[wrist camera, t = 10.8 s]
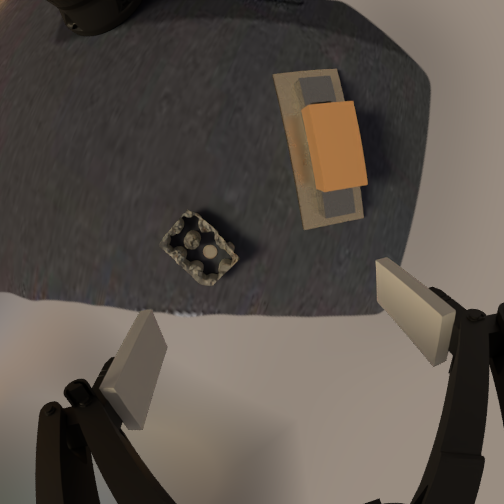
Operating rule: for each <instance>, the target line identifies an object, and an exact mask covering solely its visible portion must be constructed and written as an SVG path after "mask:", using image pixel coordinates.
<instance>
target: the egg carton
mask: <svg viewBox="0 0 504 504" xmlns="http://www.w3.org/2000/svg"><path fill="white" fill-rule="evenodd" d="M194 215H195V216H197V217H198V218H199V222H198V226H199V228H200V230H201V232H210V231H214V233H215V241H216V244H217V245H218V246H219V248H221V249H225V250H226V251H227V253H228V254H229V255H230V256H231V257H232V260H230V259H223V260H221V262H220V264H219V269H218V270H219V274H213V273H211V274H209V275H205V274H204V273H203V270H204V265H203V263H202V262H201V261H198V260H194V261H192V262H190V261H188V260H187V259H186V257H187V250H186V249H185V248H184V247H182V246H177V247H175V248H173V247H172V246H171V245H170V242H171V238H170V235H171V236H173V235H175V234H179V233H180V232H181V230H182V229H183V227H184V220H183V219H182V217H183V216H186V217H188V218H190V217H192V216H194ZM200 240H201V236H200V234H199V232H197V231H195V230H192V231H190V232H188V233H187V235H186V236H185V238H184V244H185V247H186V248H187V249H196V248H197V247H198V246H199V243H200ZM159 246H160V247H161V248H162V249H163V250H164V251H165V252H166V253H168V254H169V255H170V256H171V257H172V258H173V259H175V261H176V262H177V264H179V265H180V266H181V267H182V268H184V269H185V270H186V271H187V272H188V273H189V274H190V275H191V276H192V277H193V278H194V279H195V280H196V281H197V282H199V283H200V284H202V285H208V286H212V285H214V284H215V283H216V282H217V281H218V280H219V279H220V278H221V277H222V276H223V275H224V274H225V273H226V272H227V271H228V270H229V269H230V268H231V267H232V266H233V265H234V264H235V263H236V262H237V261H238V260H239V259H240V258H239V257H238V256H237V255H236V254H235V253H234V249H235V247H234V245H233V244H232V243H231V242H228V243H226V241H225V240H224V239H223V238H222V237H221V236H220V235H219V234H218V231H217V230H216V229H214V228H213V227H212V226H211V225H210V224H209V223H207V222H206V221H205V220H203V219H202V218H201V216H200V215H199V214H198V213H194V212H190V211H189V210H187V211H186V212H185V213H184V214H183V215H182V216H181V217H180V219H179V220H178V221H177V222H176V223H175V224H174V226H173V227H172V228H171V229H170V230H169V232H168V233H167V234H166V235H165V236H164V238H163V239H162V240H161V242H160V244H159ZM217 252H218V251H217V248H216V247H215V246H213V245H207V246H205V247H204V249H203V254H204V256H205V257H206V258H208V259H212V258H215V257H216V255H217Z"/></svg>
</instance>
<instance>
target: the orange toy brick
mask: <svg viewBox="0 0 504 504" xmlns="http://www.w3.org/2000/svg"><path fill="white" fill-rule="evenodd" d="M301 112H302V117H303V121H304V126H305V131H306V136H307V141H308V146H309V151H310V156H311V162H312V167H313V173H314V178H315V184H316V189H318V190H321V191H323V192H329V191H334V190H340V189H346V188H352V187H358V186H364V185H368V181H367V174H366V167H365V161H364V154H363V148H362V143H361V137H360V132H359V126H358V121H357V117H356V112H355V107H354V103H353V101H344V102H331V103H321V104H311V105H307V106H306V107H305V108H303V109H302V110H301Z"/></svg>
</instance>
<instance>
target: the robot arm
mask: <svg viewBox="0 0 504 504" xmlns="http://www.w3.org/2000/svg"><path fill="white" fill-rule="evenodd" d="M47 1H48V2H50V3H51V4H53V5H54V6H56V7H57V8H59V11H60V13H61V15H62V18H63V20H64V23H65V25H66V26H67V27H68V28H69V29H70V30H71V31H73V32H74V33H76V34H78V35H81V36H94V35H99V34H102V33H104V32H107V31H109V30H111V29H113V28H115V27H116V26H118V25H119V24H121V23H122V22H123V21H125V20H126V19H127V18H128V17H129V16H130V15H131V14H132V13H133V12H134V11H135V10H136V9H137V7H138V6H139V4H140V3H141V1H142V0H47ZM376 278H377V302H378V303H379V304H380V305H381V306H382V308H383V309H384V310H385V311H386V312H387V313H388V314H389V315H390V316H391V318H392V319H393V320H394V321H395V322H396V323H397V324H398V326H399V327H400V328H401V329H402V330H403V331H404V333H405V334H406V335H407V336H408V337H409V338H410V340H411V341H412V342H413V343H414V344H415V345H416V346H417V348H418V349H419V350H420V351H421V353H422V354H423V355H424V356H425V357H426V359H427V360H428V361H429V362H430V364H431V365H432V366H433V367H434V366H436V365H439V364H441V363H443V362H445V361H446V359H447V355H448V351H450V353H451V354H452V355H453V358H452V362H451V365H450V369H449V373H450V376H449V381H448V387H447V392H446V397H445V402H444V406H443V411H442V415H441V420H440V423H439V427H438V431H437V435H436V438H435V441H434V445H433V448H432V451H431V454H430V457H429V461H428V463H427V467H426V469H425V472H424V475H423V477H422V480H421V483H420V485H419V487H418V490H417V491H416V493H415V495H414V497H413V499H412V501H411V503H410V504H475V500H476V497H477V493H478V490H479V486H480V481H481V477H482V473H483V469H484V463H485V458H484V456H481V451H482V445H483V438H484V432H485V425H486V416H487V405H488V391H489V365H490V368H491V372H492V375H493V379H494V383H495V387H496V391H497V396H498V400H499V405H500V409H501V415H502V420H503V426H504V303H502V304H500V305H499V307H498V311H497V314H492V315H487V316H486V314H485V313H484V312H482V311H480V310H477V309H468V310H466V309H465V308H463V307H462V306H461V305H460V304H458V303H457V302H456V301H454V300H453V299H451V297H449V296H448V295H446V293H444V292H443V291H442V290H440V289H437V288H434V287H430V288H427V287H426V286H425V285H423V284H422V283H421V282H419V281H418V280H417V279H416V278H414V277H413V276H412V275H410V274H409V273H408V272H406V271H405V270H404V269H402V268H401V267H400V266H398V265H397V264H396V263H394V262H393V261H391V260H390V259H389V258H387V257H386V258H382V259H378V260H376ZM166 350H167V345H166V343H165V340H164V338H163V335H162V333H161V331H160V328H159V326H158V324H157V321H156V319H155V316H154V314H153V311H152V309H150V310H144V311H140V312H139V314H138V316H137V318H136V320H135V322H134V323H133V325H132V327H131V328H130V330H129V332H128V334H127V336H126V338H125V339H124V341H123V343H122V345H121V347H120V349H119V350H118V352H117V354H116V356H115V357H111V358H110V359H109V360H108V361H107V362H106V363H105V364H104V366H103V368H102V372H100V374H99V377H97V379H96V381H95V383H94V385H93V387H92V388H91V387H90V385H89V383H88V382H87V381H86V380H85V379H77V380H74V381H72V382H71V383H69V384H68V385H67V386H66V387H65V389H64V396H65V397H66V398H67V400H68V401H69V403H70V404H71V405H72V407H68V408H62V406H61V405H60V404H59V403H58V402H55V401H54V402H49V403H47V404H46V405H44V406H43V408H42V409H41V410H40V414H39V422H38V432H37V446H36V473H35V475H36V476H35V477H36V479H35V480H36V504H100V500H99V496H98V491H97V486H96V481H95V475H94V470H93V463H92V456H91V453H92V455H93V457H94V459H95V462H96V464H97V466H98V468H99V470H100V472H101V474H102V476H103V478H104V480H105V481H106V484H107V485H108V487H109V489H110V491H111V493H112V494H113V496H114V498H115V500H116V501H117V503H118V504H176V503H175V502H174V500H173V499H172V498H171V497H170V496H169V494H168V493H167V492H166V491H165V490H164V488H163V487H162V486H161V485H160V483H159V482H158V481H157V479H156V478H155V477H154V476H153V474H152V473H151V472H150V470H149V469H148V467H147V466H146V465H145V463H144V462H143V461H142V459H141V458H140V456H139V455H138V453H137V452H136V451H135V449H134V447H133V446H132V445H131V443H130V441H129V440H128V438H127V437H126V435H125V433H124V432H123V431H122V430H121V425H122V422H123V423H124V424H125V426H126V427H127V428H128V430H143V427H144V424H145V420H146V417H147V413H148V410H149V406H150V403H151V399H152V396H153V392H154V389H155V386H156V383H157V379H158V376H159V372H160V369H161V366H162V363H163V359H164V357H165V354H166ZM365 504H381V502H380V499H376V500H374V501H371V502H368V503H365ZM385 504H403V503H385Z"/></svg>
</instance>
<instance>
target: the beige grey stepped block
mask: <svg viewBox="0 0 504 504" xmlns="http://www.w3.org/2000/svg"><path fill="white" fill-rule="evenodd" d="M272 77H273V81H274V85H275V89H276V94H277V98H278V102H279V107H280V111H281V116H282V120H283V125H284V130H285V134H286V139H287V144H288V149H289V154H290V159H291V164H292V169H293V175H294V180H295V185H296V191H297V196H298V202H299V208H300V214H301V220H302V226H303V229H304V230H307V229H312V228H317V227H322V226H326V225H331V224H336V223H341V222H346V221H351V220H356V219H361V218H364V215H363V206H362V198H361V190H360V186H358V187H352V188H346V189H340V190H334V191H329V192H323V191H321V190H318V189H316V184H315V178H314V173H313V167H312V162H311V156H310V151H309V146H308V141H307V136H306V131H305V126H304V121H303V117H302V112H301V110H302V109H303V108H305V107H306V106H307V105H311V104H321V103H331V102H344V101H345V100H344V96H343V92H342V87H341V83H340V79H339V76H338V72H337V69H323V70H309V71H298V72H289V73H280V74H273V75H272Z"/></svg>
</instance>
